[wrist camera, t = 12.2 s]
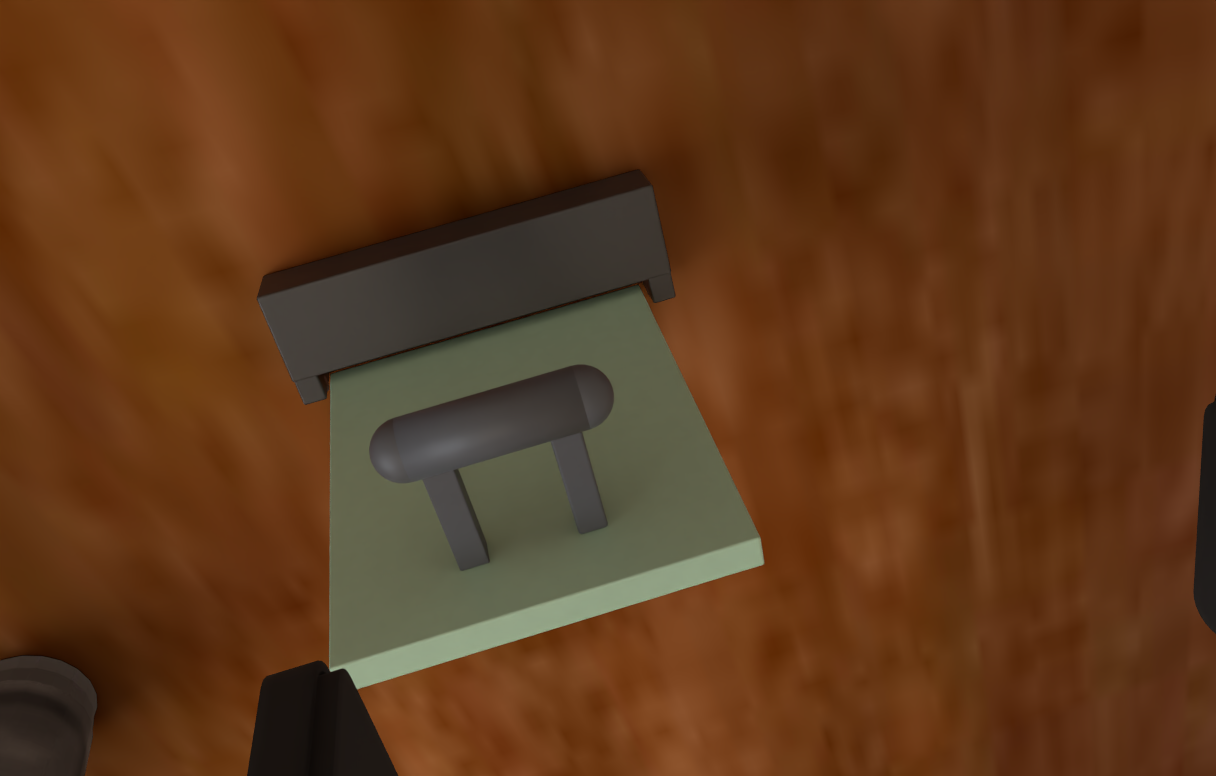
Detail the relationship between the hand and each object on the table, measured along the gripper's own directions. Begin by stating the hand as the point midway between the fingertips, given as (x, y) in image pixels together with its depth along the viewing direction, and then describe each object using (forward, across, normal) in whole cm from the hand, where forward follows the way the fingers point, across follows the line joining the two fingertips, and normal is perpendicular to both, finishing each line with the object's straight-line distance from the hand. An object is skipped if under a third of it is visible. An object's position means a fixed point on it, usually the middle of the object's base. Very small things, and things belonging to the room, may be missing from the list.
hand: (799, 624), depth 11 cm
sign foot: (+26, +3, +5) cm, 27 cm away
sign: (+19, +3, +9) cm, 21 cm away
